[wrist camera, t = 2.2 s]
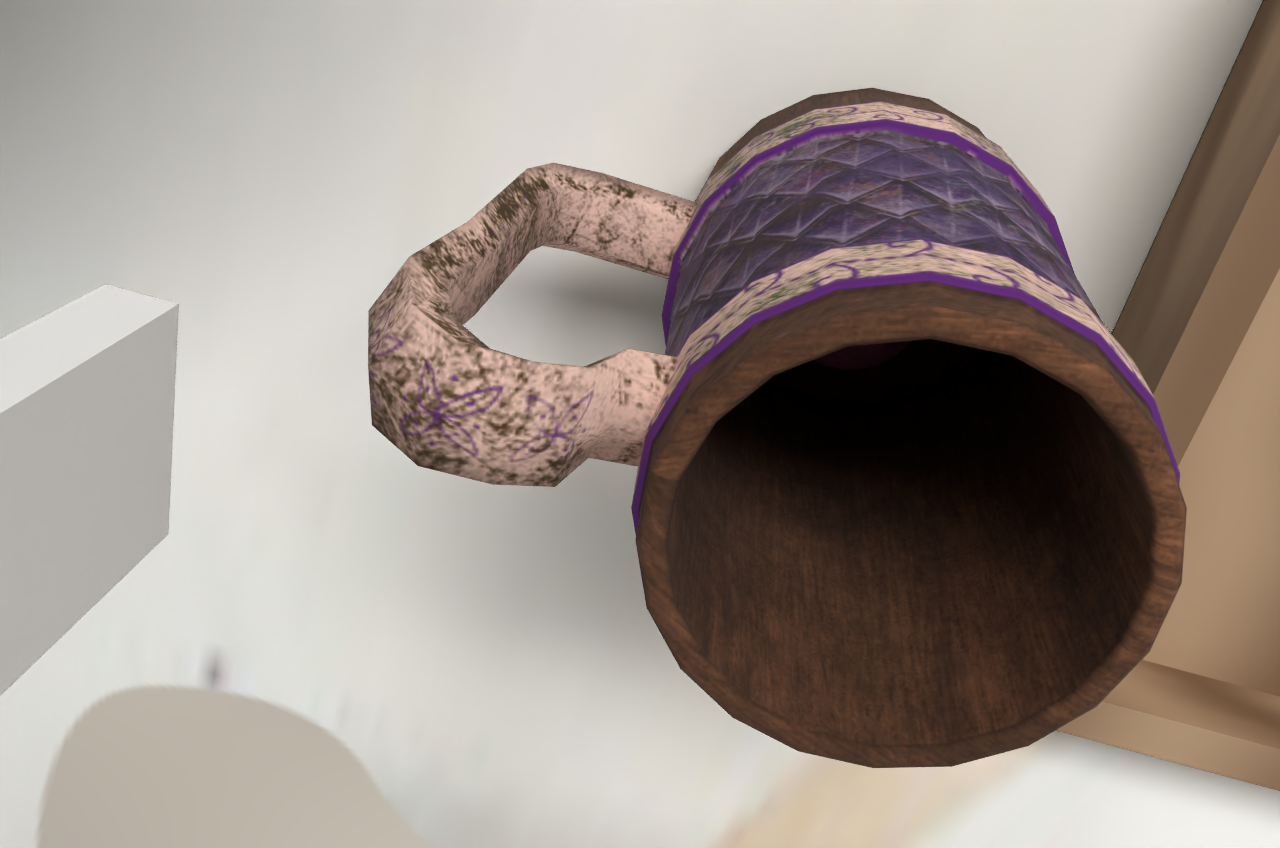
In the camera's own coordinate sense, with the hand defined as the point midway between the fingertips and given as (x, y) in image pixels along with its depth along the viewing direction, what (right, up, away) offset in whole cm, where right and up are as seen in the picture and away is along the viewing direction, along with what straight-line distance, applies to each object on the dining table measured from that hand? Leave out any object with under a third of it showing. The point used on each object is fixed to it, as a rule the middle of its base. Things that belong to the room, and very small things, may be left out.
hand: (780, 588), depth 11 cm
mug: (+2, +6, +12) cm, 13 cm away
